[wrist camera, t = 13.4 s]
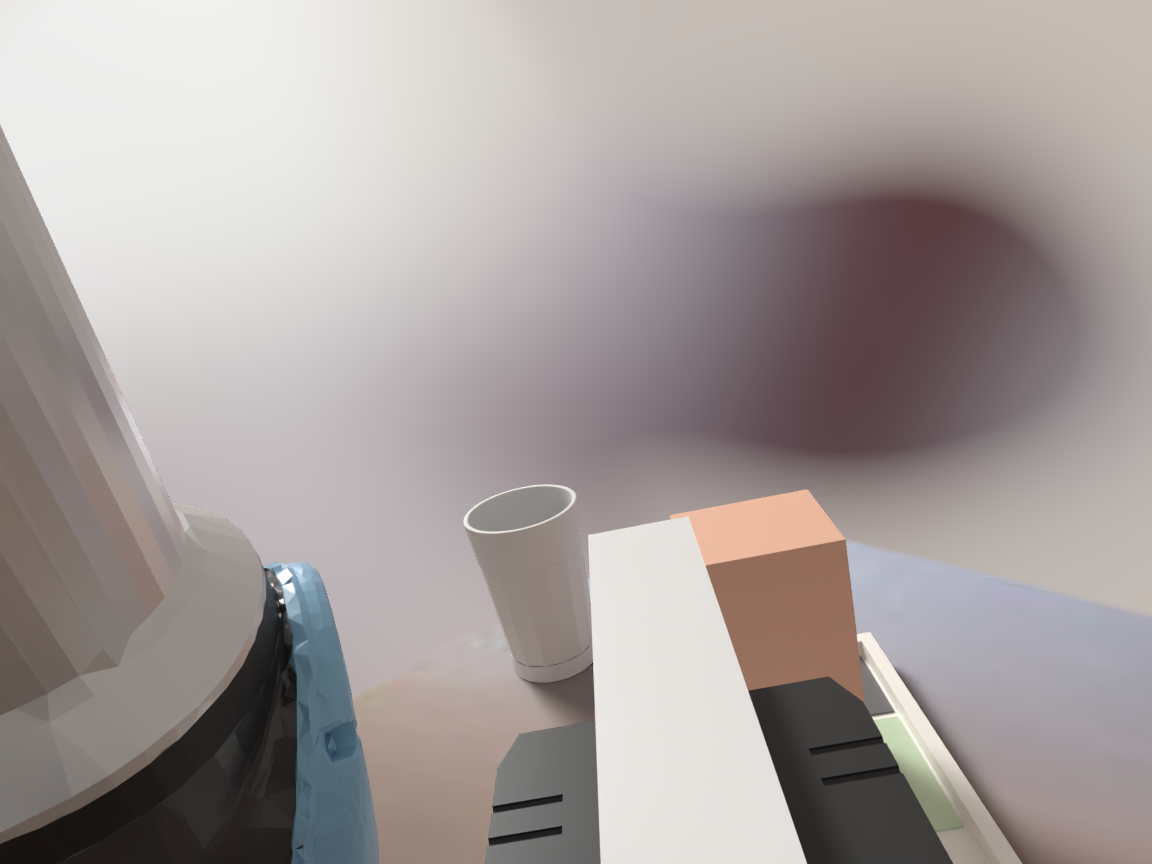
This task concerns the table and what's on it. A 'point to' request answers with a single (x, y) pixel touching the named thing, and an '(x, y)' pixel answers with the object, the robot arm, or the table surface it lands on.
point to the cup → (536, 578)
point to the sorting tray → (929, 765)
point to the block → (782, 589)
